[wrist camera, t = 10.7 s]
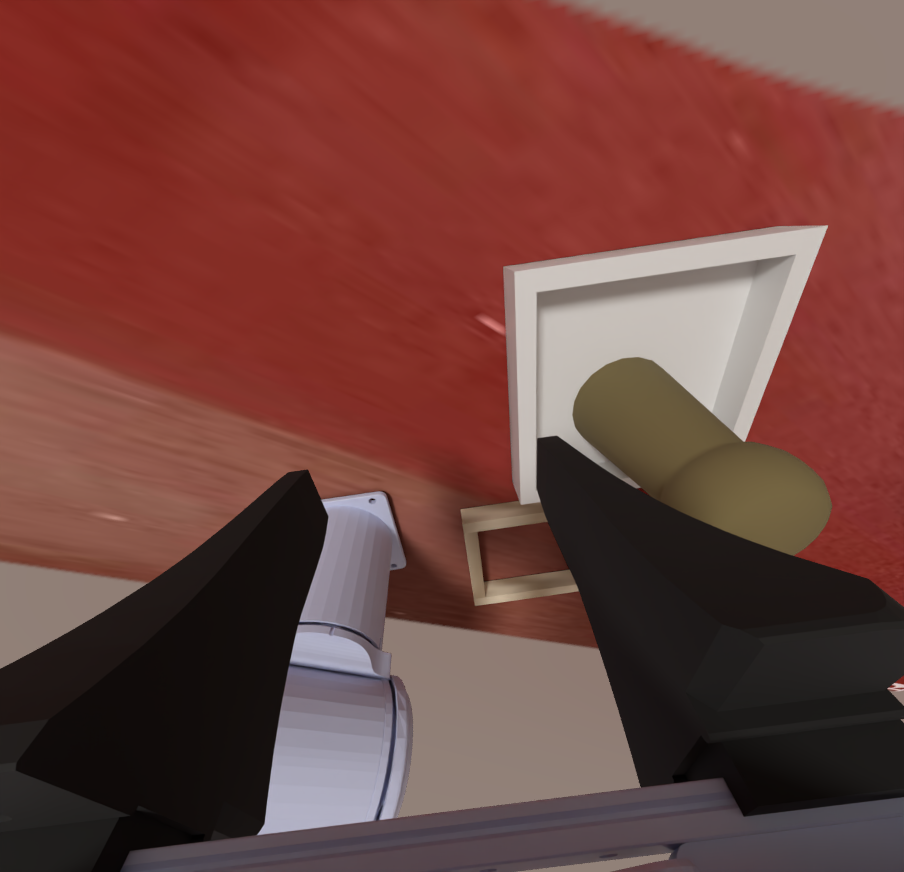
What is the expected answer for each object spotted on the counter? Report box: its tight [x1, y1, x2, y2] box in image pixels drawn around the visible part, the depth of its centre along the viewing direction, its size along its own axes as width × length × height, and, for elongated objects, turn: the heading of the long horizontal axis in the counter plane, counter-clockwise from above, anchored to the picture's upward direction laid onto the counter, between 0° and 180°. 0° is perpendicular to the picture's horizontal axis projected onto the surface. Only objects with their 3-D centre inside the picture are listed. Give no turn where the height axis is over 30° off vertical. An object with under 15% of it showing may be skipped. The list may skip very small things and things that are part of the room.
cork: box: [572, 357, 832, 556], centre depth 16 cm, size 6×6×11 cm
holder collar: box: [461, 501, 579, 606], centre depth 28 cm, size 10×10×2 cm
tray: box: [503, 226, 828, 505], centre depth 20 cm, size 14×14×2 cm
